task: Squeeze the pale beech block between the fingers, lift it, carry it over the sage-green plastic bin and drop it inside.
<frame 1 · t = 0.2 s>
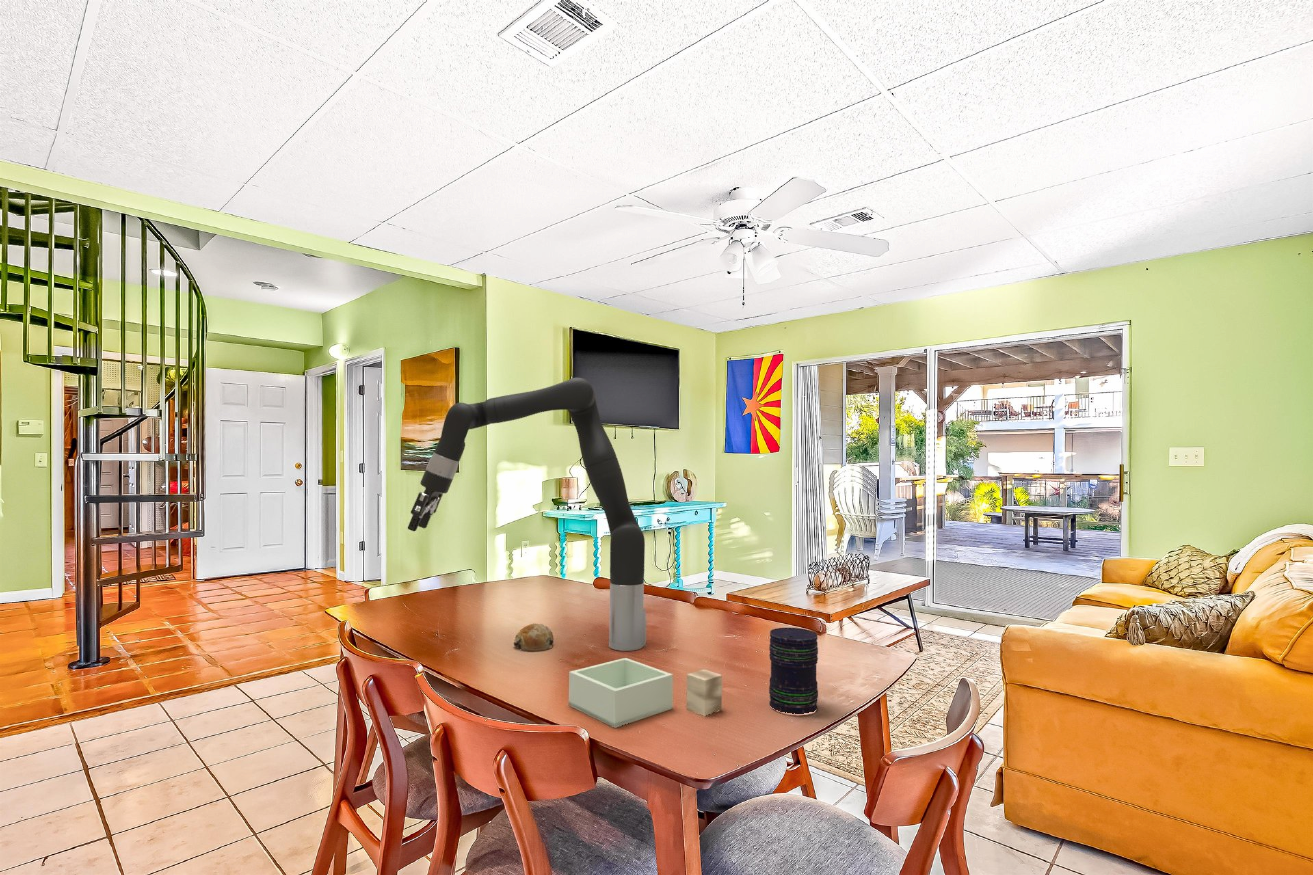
hand: (416, 528, 174), 31 cm above the table, tool tilted 20°, fingers open, 8 cm apart
block: (704, 709, 131), on the table
storage jar: (793, 707, 133), on the table
bin: (620, 706, 132), on the table
bread roll: (533, 648, 174), on the table
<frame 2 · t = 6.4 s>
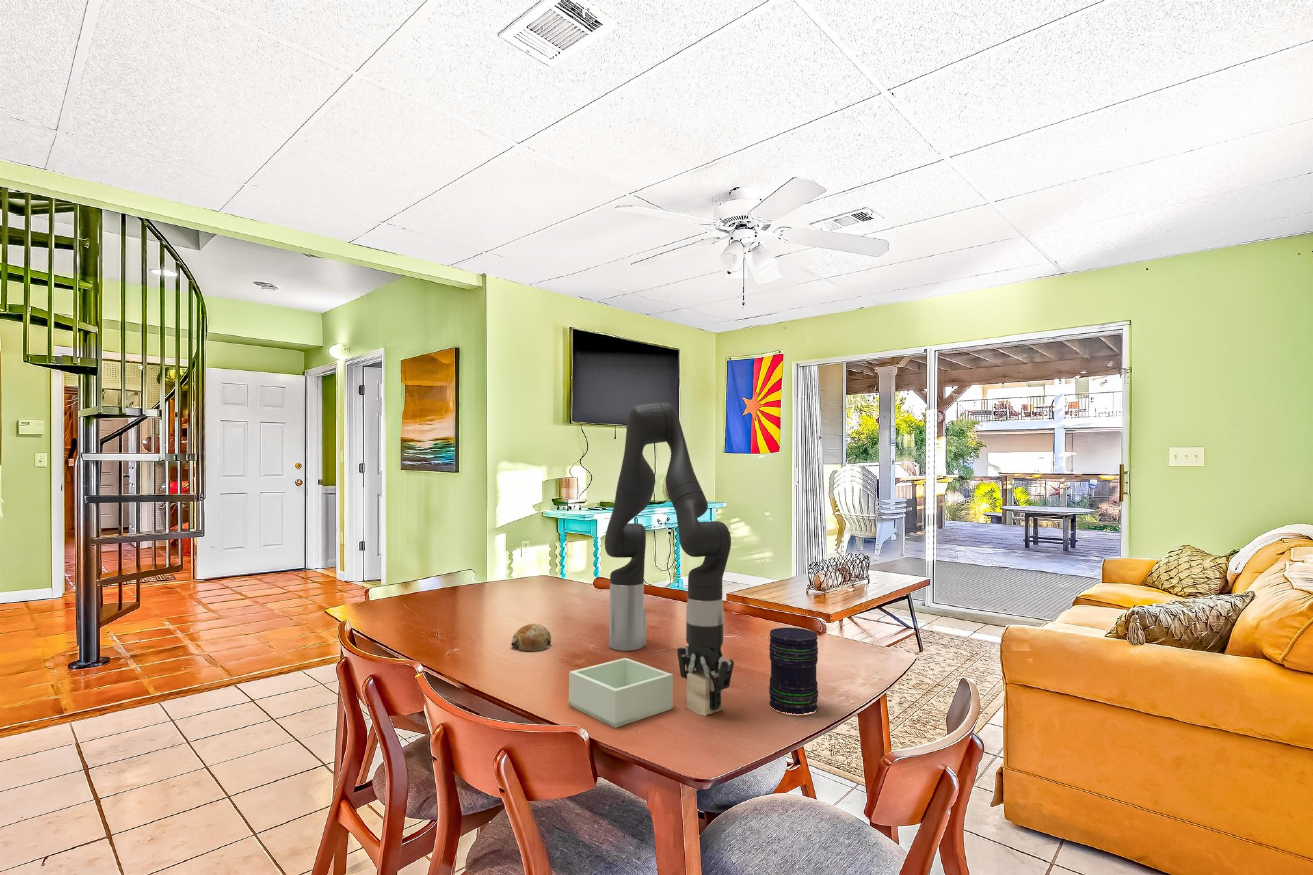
hand: (704, 704, 131), 1 cm above the table, tool pointing down, fingers closed on block, 5 cm apart
block: (704, 709, 131), on the table, touching gripper
everything else where it was.
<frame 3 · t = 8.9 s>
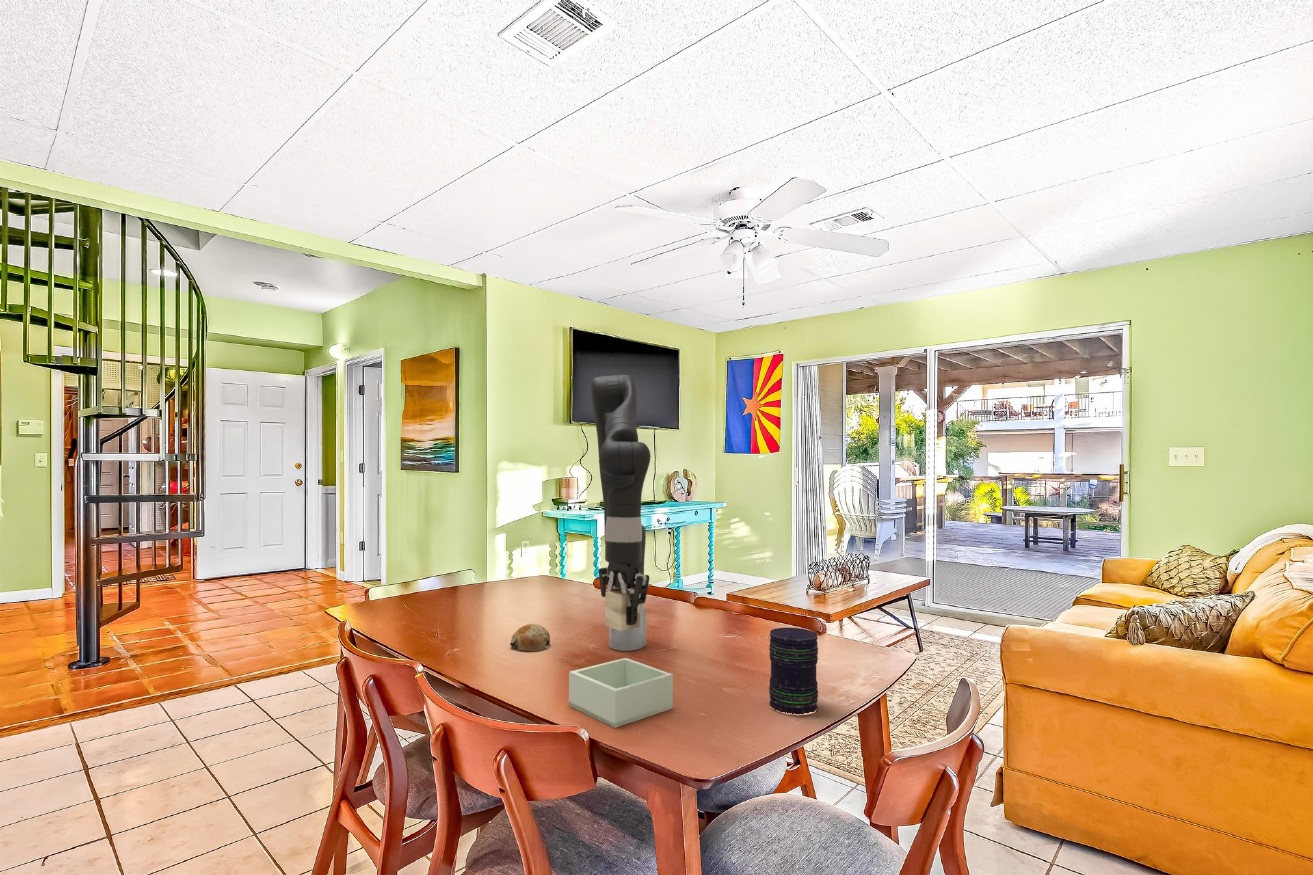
hand: (622, 621, 132), 17 cm above the table, tool pointing down, fingers closed on block, 5 cm apart
block: (622, 626, 132), point 16 cm above the table, touching gripper
everything else where it was.
when the fingers open (4 cm above the table, at t = 11.7 s): block drops 3 cm, resting on bin.
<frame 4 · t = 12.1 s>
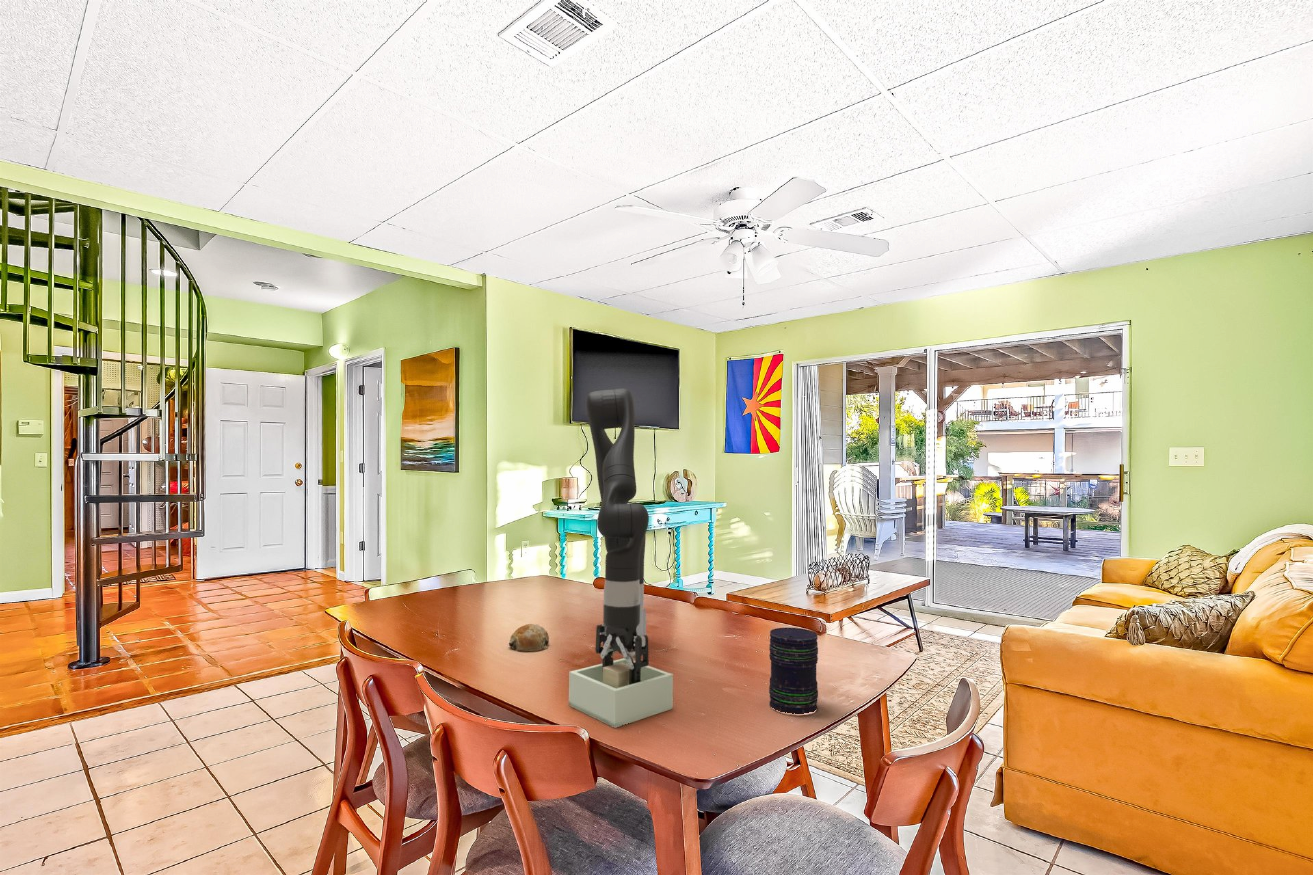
hand: (620, 681, 132), 5 cm above the table, tool pointing down, fingers open, 8 cm apart
block: (619, 702, 132), point 1 cm above the table, touching bin
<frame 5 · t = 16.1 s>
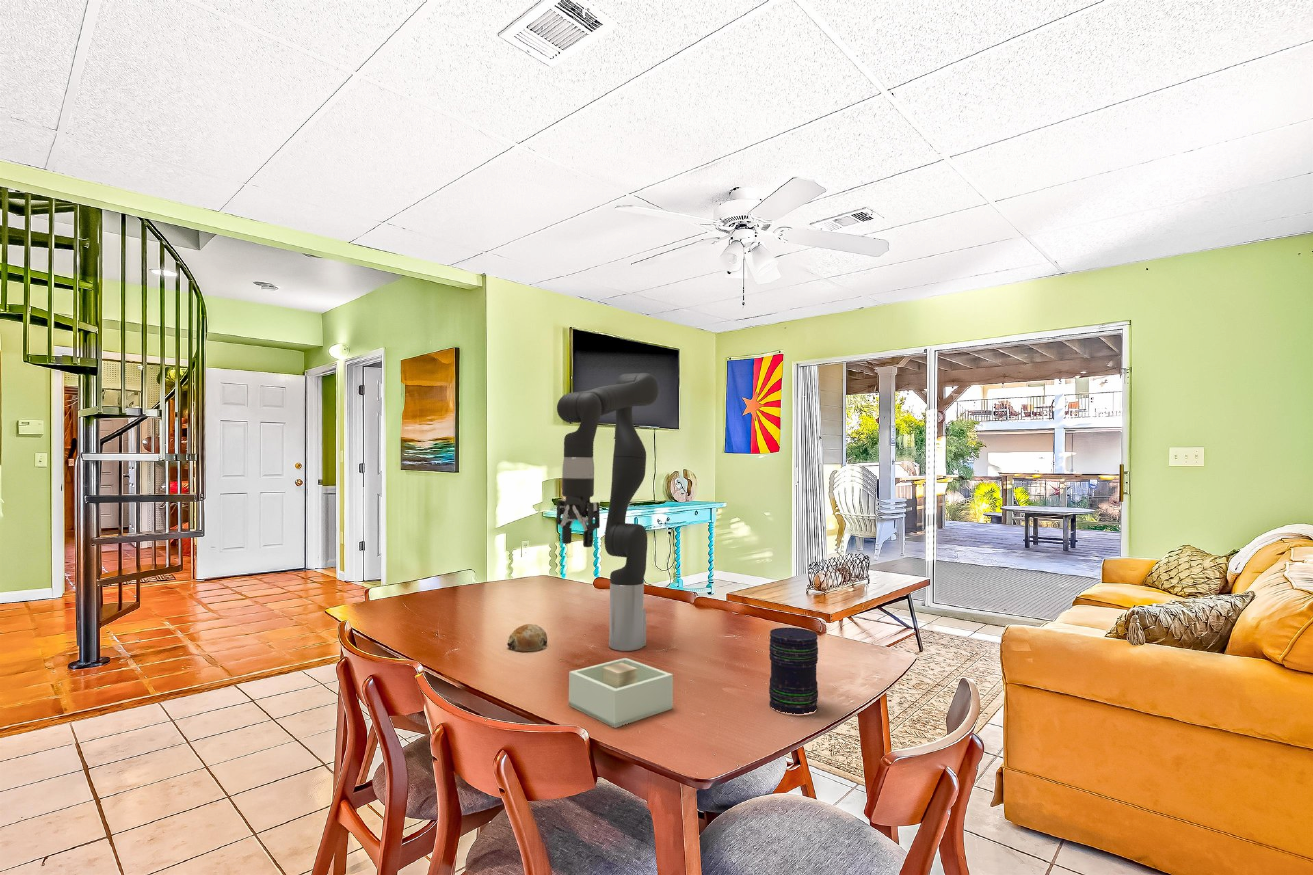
hand: (577, 545, 153), 30 cm above the table, tool pointing down, fingers open, 8 cm apart
at the end: block inside the target area on the bin (0.3 cm from its centre), point 0.8 cm above the bin's base; the gripper is holding nothing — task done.
